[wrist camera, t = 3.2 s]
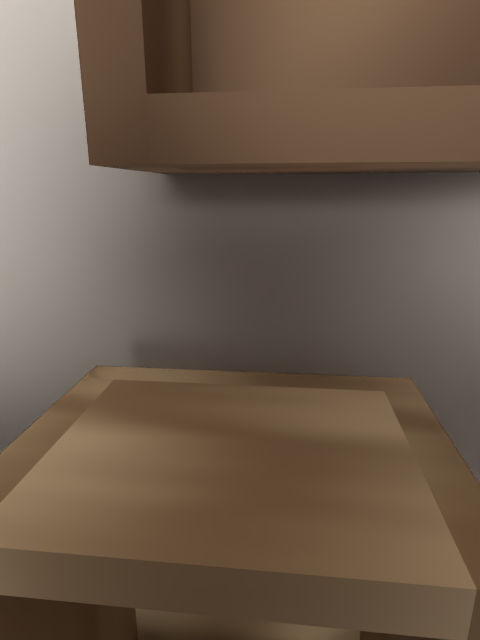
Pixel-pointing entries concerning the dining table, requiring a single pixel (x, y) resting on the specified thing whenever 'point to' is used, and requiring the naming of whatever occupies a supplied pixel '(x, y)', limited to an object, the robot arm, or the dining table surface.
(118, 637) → the small crate
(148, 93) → the big crate
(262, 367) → the dining table surface
